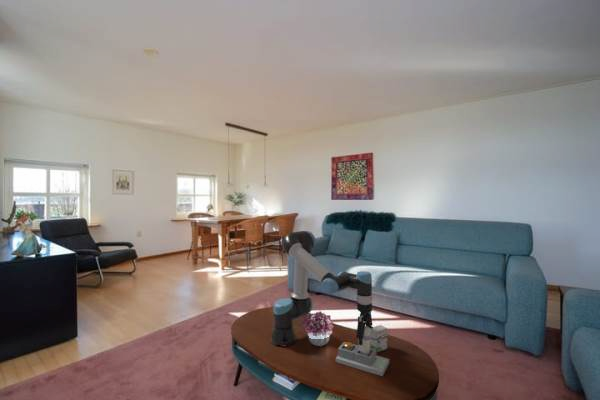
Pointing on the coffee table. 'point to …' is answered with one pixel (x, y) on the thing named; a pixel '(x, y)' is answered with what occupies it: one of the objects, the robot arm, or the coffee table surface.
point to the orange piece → (348, 346)
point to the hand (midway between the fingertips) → (365, 345)
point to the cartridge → (366, 342)
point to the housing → (362, 360)
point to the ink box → (379, 338)
